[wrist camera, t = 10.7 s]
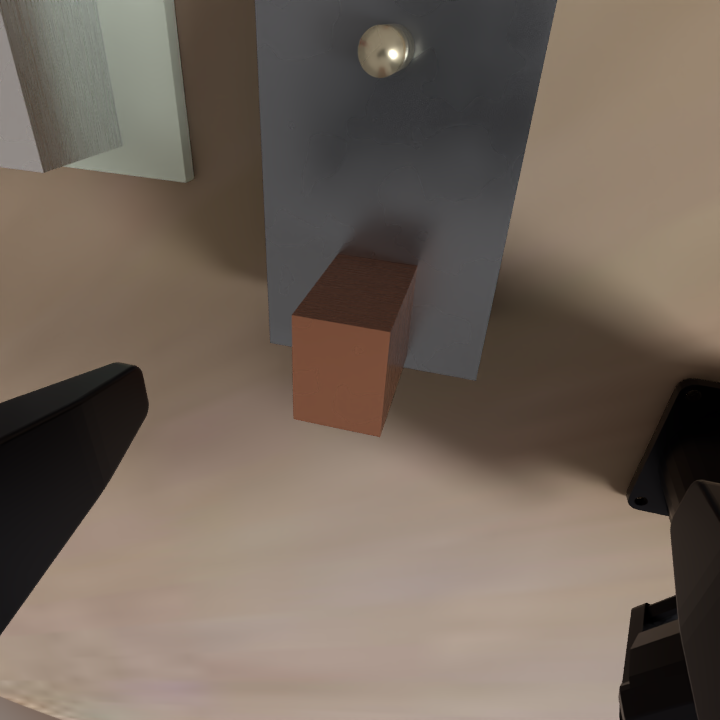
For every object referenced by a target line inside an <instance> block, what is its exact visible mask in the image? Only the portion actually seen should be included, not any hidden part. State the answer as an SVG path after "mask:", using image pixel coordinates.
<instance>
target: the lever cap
mask: <svg viewBox="0 0 720 720" xmlns="http://www.w3.org/2000/svg"><path fill="white" fill-rule="evenodd" d="M122 146H123V144H122V139H121V133H120V128H119V122H118V117H117V111H116V106H115V100H114V95H113V89H112V84H111V79H110V73H109V68H108V62H107V57H106V51H105V46H104V40H103V35H102V29H101V24H100V18H99V13H98V7H97V2H96V0H0V167H4V168H11V169H19V170H26V171H34V172H41V173H45V172H48V171H51V170H53V169H56V168H59V167H62V166H65V165H68V164H71V163H74V162H77V161H80V160H83V159H86V158H89V157H92V156H95V155H98V154H101V153H104V152H107V151H110V150H113V149H116V148H119V147H122Z"/></svg>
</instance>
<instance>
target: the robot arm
mask: <svg viewBox="0 0 720 720" xmlns="http://www.w3.org/2000/svg"><path fill="white" fill-rule="evenodd" d="M692 390H697V391H698V392H697V393H696V394H694V395H686V394H687V393H688V392H689V391H692ZM148 408H149V402H148V397H147V392H146V387H145V383H144V378H143V373H142V371H141V369H140V368H139V367H137V366H135V365H130V364H125V363H119V362H117V363H112V364H109V365H106V366H104V367H101V368H98V369H95V370H92V371H89V372H87V373H84V374H81V375H78V376H75V377H72V378H70V379H67V380H64V381H61V382H58V383H56V384H53V385H50V386H47V387H44V388H41V389H39V390H36V391H33V392H30V393H27V394H25V395H22V396H19V397H16V398H13V399H10V400H8V401H5V402H2V403H0V635H1V634H2V632H3V631H4V630H5V628H6V627H7V625H8V624H9V623H10V621H11V620H12V618H13V617H14V616H15V614H16V613H17V611H18V610H19V609H20V607H21V606H22V604H23V603H24V602H25V600H26V599H27V597H28V596H29V595H30V593H31V592H32V590H33V589H34V588H35V586H36V585H37V583H38V582H39V581H40V579H41V578H42V576H43V575H44V574H45V572H46V571H47V569H48V568H49V567H50V565H51V564H52V562H53V561H54V560H55V558H56V557H57V555H58V554H59V553H60V551H61V550H62V548H63V547H64V546H65V544H66V543H67V541H68V540H69V539H70V537H71V536H72V534H73V533H74V532H75V530H76V529H77V527H78V526H79V525H80V523H81V522H82V520H83V519H84V518H85V516H86V515H87V513H88V512H89V510H90V509H91V508H92V506H93V505H94V503H95V502H96V501H97V499H98V498H99V496H100V495H101V493H102V492H103V490H104V489H105V487H106V486H107V484H108V483H109V481H110V479H111V478H112V476H113V474H114V473H115V471H116V469H117V467H118V465H119V464H120V462H121V460H122V458H123V457H124V455H125V453H126V451H127V450H128V448H129V446H130V444H131V443H132V441H133V439H134V437H135V435H136V434H137V432H138V430H139V428H140V427H141V425H142V423H143V421H144V420H145V418H146V416H147V413H148ZM626 496H627V500H628V503H629V505H630V506H631V507H632V508H635V509H637V510H642V511H647V512H651V513H656V514H661V515H665V516H669V519H670V522H671V527H670V534H671V545H672V556H673V567H674V579H675V590H676V595H674V596H672V597H669V598H667V599H664V600H661V601H659V602H656V603H654V604H651V605H650V604H648V603H645V604H642V605H639V606H637V607H634V608H632V610H631V618H630V626H629V634H628V642H627V649H626V657H625V665H624V673H623V681H622V684H621V685H620V689H619V703H620V712H619V718H620V720H720V383H719V382H713V381H707V380H702V379H692V378H690V379H686V380H683V381H682V382H680V383H679V384H678V385H677V386H676V388H675V390H674V392H673V395H672V397H671V399H670V401H669V403H668V405H667V407H666V409H665V412H664V414H663V416H662V418H661V420H660V422H659V424H658V426H657V429H656V431H655V433H654V435H653V437H652V439H651V441H650V443H649V446H648V448H647V450H646V452H645V454H644V456H643V458H642V460H641V463H640V465H639V467H638V469H637V471H636V473H635V475H634V477H633V480H632V482H631V484H630V486H629V488H628V490H627V494H626ZM638 497H644V498H641V499H638Z"/></svg>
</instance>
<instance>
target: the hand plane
mask: <svg viewBox="0 0 720 720" xmlns="http://www.w3.org/2000/svg"><path fill="white" fill-rule="evenodd" d="M556 3H557V0H255V14H256V36H257V58H258V81H259V103H260V125H261V147H262V170H263V192H264V214H265V237H266V259H267V281H268V303H269V326H270V343H274V344H280V345H285V346H290V347H292V362H293V416H294V419H296V420H301V421H306V422H311V423H315V424H320V425H325V426H330V427H335V428H339V429H344V430H349V431H354V432H359V433H363V434H368V435H373V436H378V437H380V436H381V433H382V430H383V427H384V424H385V421H386V418H387V415H388V412H389V409H390V406H391V403H392V399H393V396H394V393H395V390H396V387H397V384H398V381H399V378H400V375H401V372H402V369H403V367H404V368H410V369H415V370H421V371H426V372H432V373H437V374H442V375H448V376H453V377H459V378H464V379H470V380H475V381H476V378H477V373H478V368H479V364H480V359H481V354H482V350H483V345H484V340H485V336H486V331H487V326H488V322H489V317H490V312H491V308H492V303H493V298H494V293H495V289H496V284H497V279H498V275H499V270H500V265H501V261H502V256H503V251H504V247H505V242H506V237H507V232H508V228H509V223H510V218H511V214H512V209H513V204H514V200H515V195H516V190H517V186H518V181H519V176H520V171H521V167H522V162H523V157H524V153H525V148H526V143H527V139H528V134H529V129H530V125H531V120H532V115H533V111H534V106H535V101H536V96H537V92H538V87H539V82H540V78H541V73H542V68H543V64H544V59H545V54H546V50H547V45H548V40H549V35H550V31H551V26H552V21H553V17H554V12H555V7H556Z"/></svg>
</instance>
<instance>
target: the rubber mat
mask: <svg viewBox="0 0 720 720" xmlns="http://www.w3.org/2000/svg"><path fill="white" fill-rule="evenodd" d="M96 2H97V7H98V13H99V18H100V24H101V29H102V35H103V40H104V46H105V51H106V57H107V62H108V68H109V73H110V79H111V84H112V89H113V95H114V100H115V106H116V111H117V117H118V122H119V128H120V133H121V139H122V144H123V146H122V147H119V148H116V149H113V150H110V151H107V152H104V153H101V154H98V155H95V156H92V157H89V158H86V159H83V160H80V161H77V162H74V163H71V164H68V165H65V166H63V167H71V168H78V169H86V170H94V171H101V172H109V173H116V174H124V175H131V176H139V177H146V178H154V179H161V180H169V181H176V182H184V183H187V182H189V181H191V180H193V179H194V173H193V164H192V155H191V147H190V138H189V129H188V120H187V112H186V103H185V94H184V85H183V77H182V68H181V59H180V50H179V41H178V33H177V24H176V15H175V6H174V0H96Z"/></svg>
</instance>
